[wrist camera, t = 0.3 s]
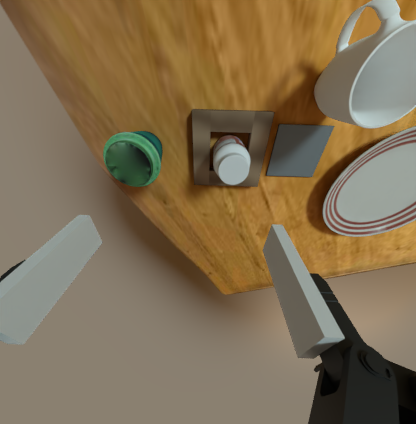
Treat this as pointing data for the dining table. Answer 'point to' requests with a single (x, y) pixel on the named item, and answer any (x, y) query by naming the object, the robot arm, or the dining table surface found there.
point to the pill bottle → (231, 160)
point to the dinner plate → (375, 189)
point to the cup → (133, 157)
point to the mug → (371, 71)
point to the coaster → (298, 149)
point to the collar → (229, 122)
